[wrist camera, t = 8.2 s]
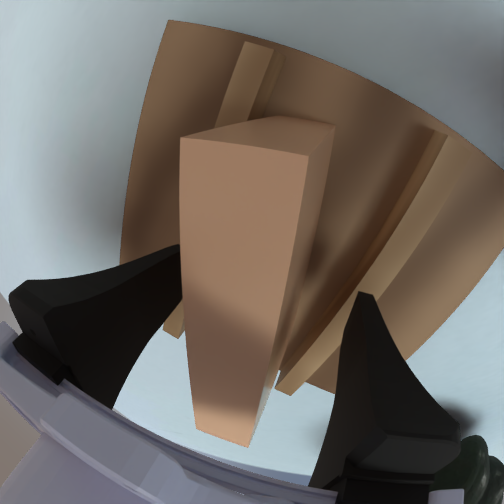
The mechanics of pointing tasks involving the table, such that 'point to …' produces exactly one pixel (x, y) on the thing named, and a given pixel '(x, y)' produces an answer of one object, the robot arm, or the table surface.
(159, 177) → the ribbed wooden panel
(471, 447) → the squash
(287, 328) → the clay block
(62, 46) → the table surface
